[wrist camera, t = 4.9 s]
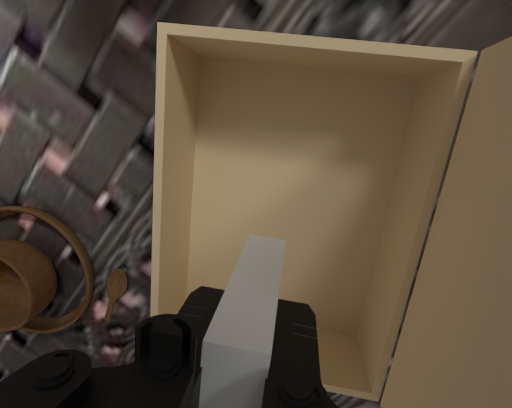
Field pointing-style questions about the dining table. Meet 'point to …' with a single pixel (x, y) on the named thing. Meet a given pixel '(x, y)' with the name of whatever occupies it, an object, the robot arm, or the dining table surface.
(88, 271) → the place setting
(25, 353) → the dining table surface
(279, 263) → the robot arm
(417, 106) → the box
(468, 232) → the lid
